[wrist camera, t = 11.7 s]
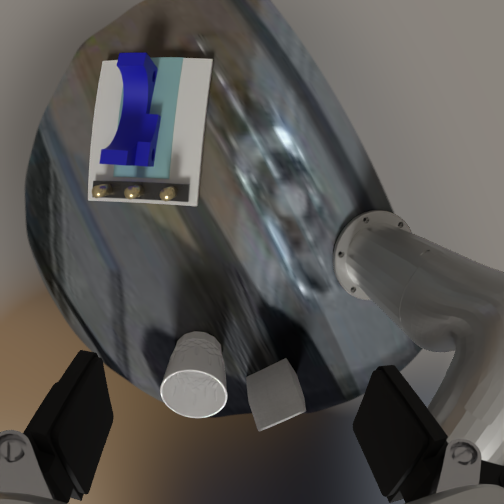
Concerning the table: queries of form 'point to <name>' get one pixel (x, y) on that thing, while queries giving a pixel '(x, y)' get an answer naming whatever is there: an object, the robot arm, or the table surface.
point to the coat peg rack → (141, 190)
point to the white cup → (195, 377)
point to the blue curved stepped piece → (135, 114)
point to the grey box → (275, 394)
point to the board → (170, 131)
